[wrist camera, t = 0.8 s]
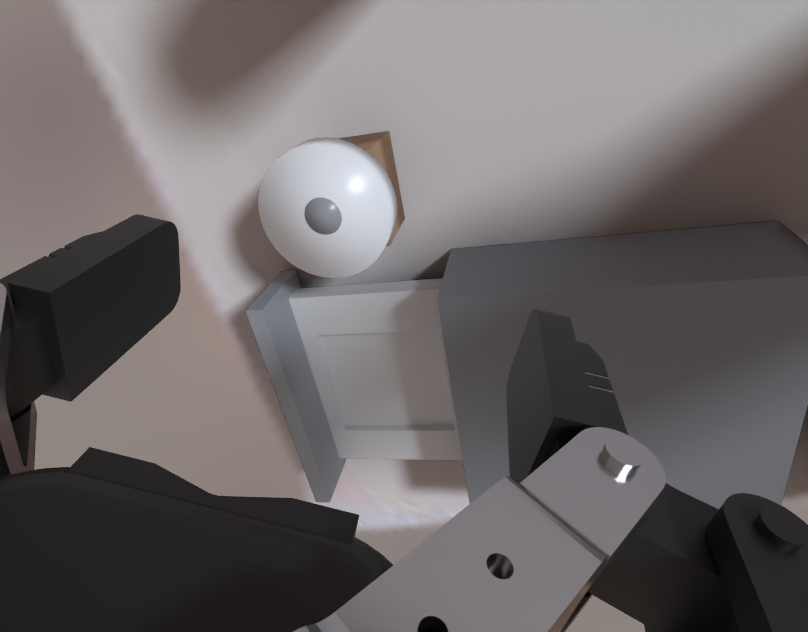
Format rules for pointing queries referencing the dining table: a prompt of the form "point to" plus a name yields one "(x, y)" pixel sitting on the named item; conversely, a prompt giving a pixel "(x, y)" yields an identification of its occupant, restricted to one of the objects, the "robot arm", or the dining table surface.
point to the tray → (357, 372)
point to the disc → (328, 207)
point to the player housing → (647, 345)
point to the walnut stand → (383, 153)
